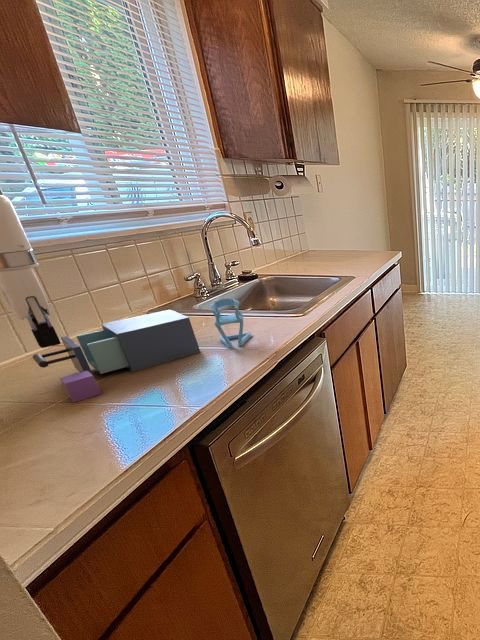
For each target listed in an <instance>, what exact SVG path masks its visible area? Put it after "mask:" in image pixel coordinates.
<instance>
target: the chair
mask: <svg viewBox="0 0 480 640" xmlns="http://www.w3.org/2000/svg"><path fill="white" fill-rule="evenodd" d="M228 306H232V307H233V306H234V310H235V313H234V314H228V315H221V312H220V310H219V308H222V307H228ZM239 306H240V301H239V300H236V299H233V298H222V299H219V300H216V301H214V302H212V303H211V304H209V307H210V309H211V311H212V314H213V315H214V317H215V320H214V327H216V329H217V330H218V332H219V334H220V335H221V336H220V337H219V341H220V342H221V343H222V344H224V345H225V346H226V347H227V348H228V349H230V348H233V345H232V341H230V340H232V339H237V344H238V346H239V347H242V346H243V345H244V344H245V343H246V342H247V341H248V340H249V339H250V338H251V337H252V333H251V332H244V315H243V312H240V309H239V308H240V307H239ZM230 324H239V329H238V330H239V331H238V334H232V335H227V334H226V333H225V332H224V329H223V328H222V326H224V325H230ZM243 332H244V333H243Z"/></svg>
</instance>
